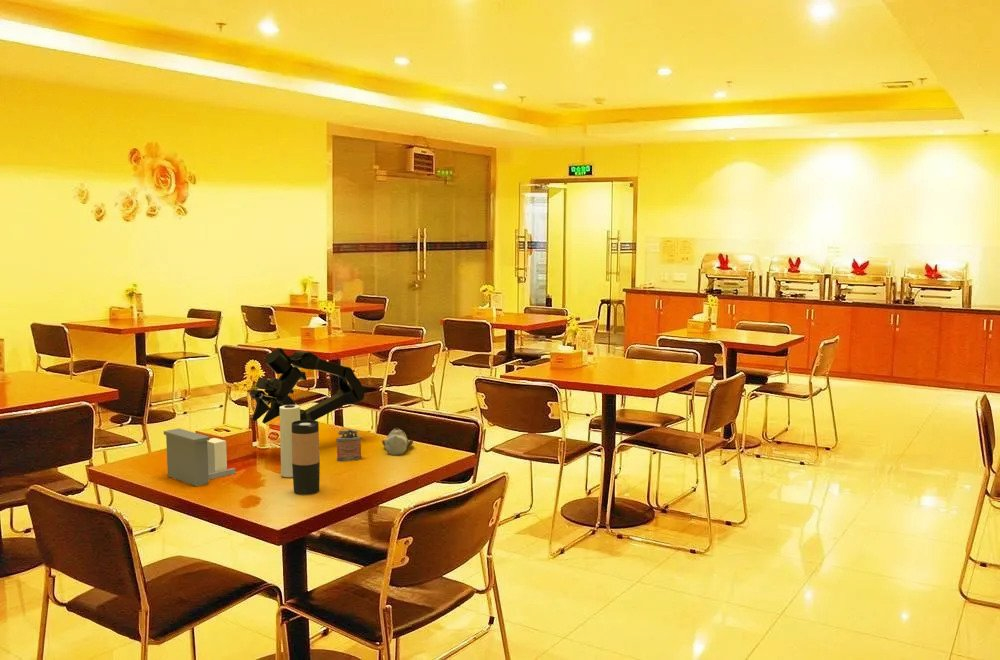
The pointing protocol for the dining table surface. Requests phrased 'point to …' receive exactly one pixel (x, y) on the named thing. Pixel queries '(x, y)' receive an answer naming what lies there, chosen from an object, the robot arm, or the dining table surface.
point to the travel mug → (305, 457)
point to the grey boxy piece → (189, 457)
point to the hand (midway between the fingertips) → (258, 421)
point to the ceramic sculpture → (396, 442)
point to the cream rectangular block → (216, 455)
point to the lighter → (348, 445)
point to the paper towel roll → (287, 436)
